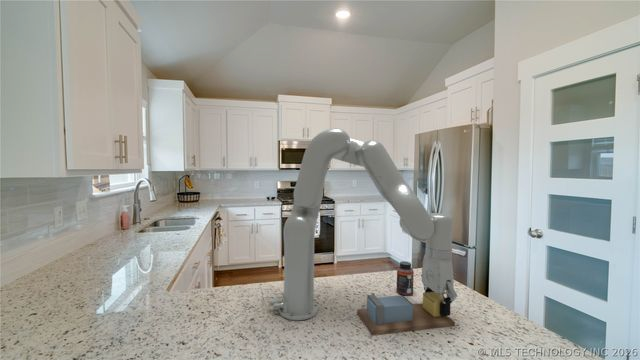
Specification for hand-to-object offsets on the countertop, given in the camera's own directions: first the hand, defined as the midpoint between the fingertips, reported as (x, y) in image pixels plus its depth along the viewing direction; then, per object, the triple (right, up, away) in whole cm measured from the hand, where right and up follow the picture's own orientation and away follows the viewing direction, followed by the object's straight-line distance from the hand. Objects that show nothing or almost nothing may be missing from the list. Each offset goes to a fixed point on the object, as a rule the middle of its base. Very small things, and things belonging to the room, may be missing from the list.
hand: (436, 308), depth 85 cm
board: (-11, -2, -2) cm, 12 cm away
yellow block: (-1, -1, 0) cm, 1 cm away
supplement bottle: (-5, -2, +16) cm, 17 cm away
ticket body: (-16, -1, -3) cm, 16 cm away
